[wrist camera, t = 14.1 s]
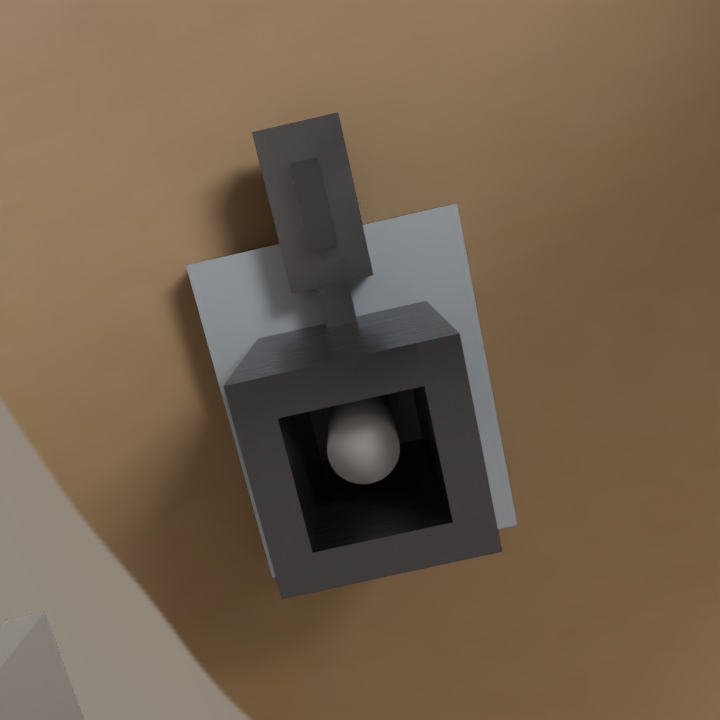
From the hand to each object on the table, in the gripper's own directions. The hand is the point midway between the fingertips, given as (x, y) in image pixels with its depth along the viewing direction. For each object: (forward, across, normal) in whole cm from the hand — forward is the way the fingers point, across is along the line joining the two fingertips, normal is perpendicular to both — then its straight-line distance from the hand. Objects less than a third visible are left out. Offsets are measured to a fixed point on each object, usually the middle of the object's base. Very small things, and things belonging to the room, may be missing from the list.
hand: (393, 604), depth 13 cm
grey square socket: (+15, -1, +3) cm, 16 cm away
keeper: (+17, -1, 0) cm, 17 cm away
